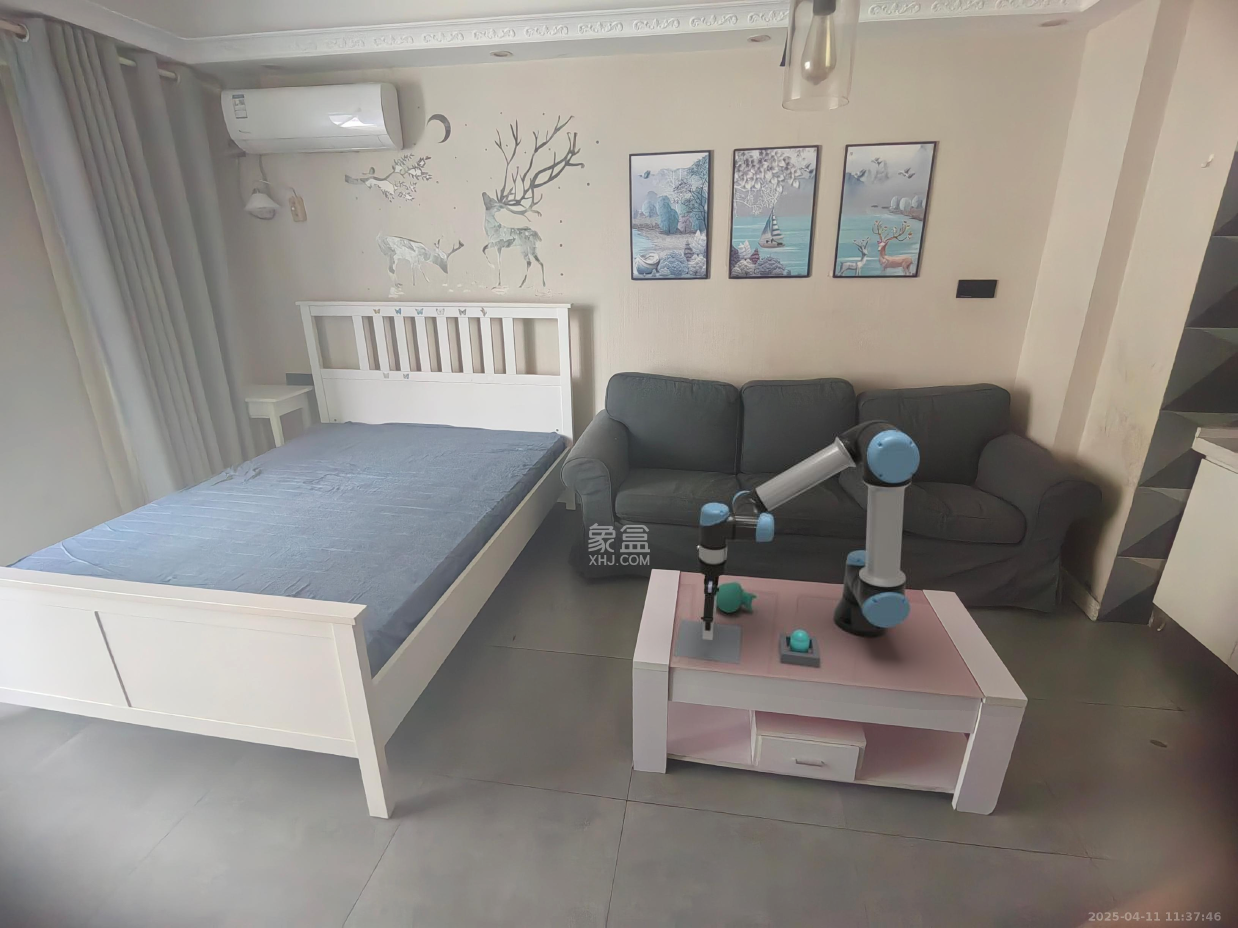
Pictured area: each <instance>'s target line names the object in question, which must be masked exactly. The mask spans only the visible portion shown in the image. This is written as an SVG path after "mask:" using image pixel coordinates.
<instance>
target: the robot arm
mask: <svg viewBox="0 0 1238 928" xmlns="http://www.w3.org/2000/svg"><path fill="white" fill-rule="evenodd" d="M920 459H921V458H920V451H919V449H918V447H917V445H916V444H915V442H914V441H913V439H912V438H911V437H910V436H908V435H907V434H906V433H905V432H903V431H901V430H900V429H898V428H897V427H896V426H895V425H894V424H892V423H890V422H889V421H886V420H883V419H874V420H869V421H865V422H863V423H860V424H858V425H856V426H854V427H852V428H849V429H848V430H847V431H845V432H844V433H841V434H840V435H838V436H835V440H834V442H833V443H832V444H830V445H828V446H826V447H825V448H823V449H821V450H819V451H818V452H816V453H814V454H813V455H811V456H809V457H808V458H806V459H804V460H803V461H801V462H799V463H797V464H795V465H794V466H792V467H791V468H788V469H787V470H785V471H783V472H781V473H780V474H778V475H777V476H775V477H772V479H769V480H768V481H766V482H764V483H762V484H761V485H759V486H758V487H755V488H753V489H752V490H750V491H749V490H742V491H739V492H738V493H736V494H735V495H734V497H733V498H732V506H731V507H732V512H730V508H729V506H728V505H726V504H724V503H719V502H709V503H706V504H704V505H703V506H702V507H701V510H700V519H699V540H698V541H699V545H697V546H696V549H697V550H698V563H697V565H698V566H697V567H698V568H697V570H698V572H699V573H700V574H701V575H703V576H704V578H703V585H704V587H703V588H704V589H703V594H704V601H703V603H704V604H703V616H701V617H700V620H702V622H703V638H702V639H708V640H712V639H713V624H714V614H716V613H717V604H716V599H717V592H719V588H717V587H719V581H720V577H721V576H723V575H725V573H726V570H727V557H728V556H727V555H728V554H727V553H728V541H733V542H734V541H737V542H757V543H760V542H770V541H772V540H773V538H774V536H775V535H774V534H775V520H774V516H773V515H772V513H769V512H770V511H772V510H773V509H775V508H777V507H778V506H780V505H782V504H784V503H786V502H788V501H789V500H792V499H793V498H795V497H797V496H798V495H800V494H802V493H804V492H806V491H808V490H809V489H811V488H813V487H815V486H817V485H819V484H820V483H822V482H824V481H825V480H828V479H829V478H831V477H832V476H834V475H836V474H838V473H839V472H841V471H844V470H845V469H847V468H848V467H852V468H856V467H858V466H860V465H862V469H861V470H862V475H861V476H862V477H861V480H862V482H863V483H864V484H865V485H866V486H867V505H866V506H867V509H866V511H867V512H866V532H865V533H866V535H865V536H866V537H865V538H866V539H865V549H864V550H862V549H861V550H853V551H850V552H849V553H848V555H847V556H846V561H845V572H844V579H843V587H842V588H843V589H842V596H841V598H840V600H839V602H838V604H836V606H835V609H834V611H833V623H834V624H835V625H836V626H837V627H838V628H839V629H840V630H842V631H843V632H846V633H847V634H850V635H853V636H857V637H861V638H876V637H880V636H883V635H884V634H885V633H886V632H887V628H892V627H896V626H898V625H900V624H901V623H903V622H904V621H905V620H906V619H908V617H909V614H910V613H911V612H910V611H911V605H910V601H909V599H908V597H907V596H906V579H907V578H906V577H907V576H906V574H905V572H903V571H902V570H901V557H902V540H903V539H902V537H903V524H904V523H903V522H904V521H903V520H904V502H905V489H906V488H907V487H909V486H910V485H911V484H912V480H913V479H912V477H913V474H915V473H916V472H917V470H918V468H919V465H920Z"/></svg>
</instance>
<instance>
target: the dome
mask: <svg viewBox="0 0 1238 928" xmlns="http://www.w3.org/2000/svg"><path fill="white" fill-rule="evenodd" d="M790 634H791V640H790V646H789V652H798V653H806V654H809V649H810V648H809V641H810V638H809V636H810V635H809V634H808V633H807V632H806V631H805V630H802V629H796V630H794V631H793V633H790Z"/></svg>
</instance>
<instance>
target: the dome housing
mask: <svg viewBox="0 0 1238 928" xmlns="http://www.w3.org/2000/svg"><path fill="white" fill-rule="evenodd" d="M791 634H792V633H785V632H779V654H780V656H779V658H780V663H781V664H787V665H793V666H794V665H796V666H801V667H802V666H803V667H809V668H810V667H813V668H819V667H820V662H821V661H820V660H821V658H820V657H821V656H820V650H819V643H818V637H817V636H811V635H808V636H809V638H810V641H809V649H810V653H808V654H806V653H798V652H789V651H788V648H787V647H788V646H789V647H790V640H791Z"/></svg>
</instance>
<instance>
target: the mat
mask: <svg viewBox="0 0 1238 928" xmlns="http://www.w3.org/2000/svg"><path fill="white" fill-rule="evenodd" d="M741 637H742V626H738V625H729V624H721V623H713V639H712V640H708V639H702V638H703V621H702V622H701V621H693V620H685V619H684V620H683V619H681V620H680V625H679V629H678V634H677V639H676V642H675V647H674V652H673V656H674V657H681V658H687V659H696V660H703V661H710V662H711V661H713V662H719V663H726V664H727V663H728V664H735V665H740V659H741V658H740V655H741V639H742V638H741Z"/></svg>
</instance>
